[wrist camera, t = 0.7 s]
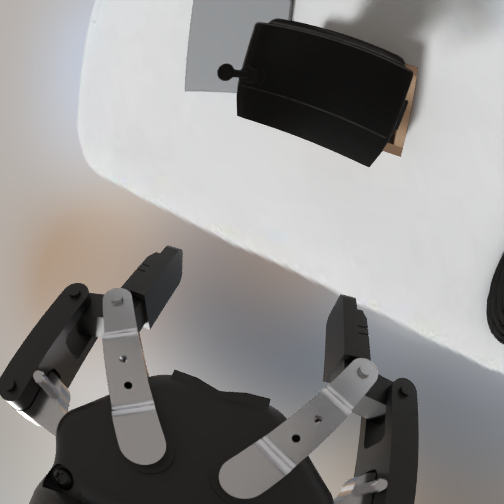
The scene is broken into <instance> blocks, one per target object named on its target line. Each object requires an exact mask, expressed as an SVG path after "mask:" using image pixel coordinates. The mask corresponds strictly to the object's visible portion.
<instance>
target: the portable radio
mask: <svg viewBox="0 0 504 504" xmlns="http://www.w3.org/2000/svg"><path fill="white" fill-rule="evenodd" d="M217 75H218V77H219V79H221V80H222V81H228V80H230V79H232V78H233V77H236V78H239V80H238V87H237V116H239V117H242V118H245V119H248V120H252V121H255V122H258V123H261V124H264V125H267V126H270V127H273V128H276V129H279V130H281V131H284V132H287V133H290V134H292V135H295V136H298V137H300V138H303V139H305V140H308V141H310V142H313V143H315V144H318V145H320V146H323V147H325V148H327V149H330V150H332V151H334V152H337V153H339V154H341V155H343V156H346V157H348V158H350V159H352V160H354V161H356V162H358V163H360V164H363V165H365V166H367V167H370V166H371V164H372V163H373V162H374V161H375V160H376V158H377V157H378V156H379V155H380V153H381V152H382V151H383V149H384V148H385V146H386V145H387V143H388V141H389V140H390V138H391V136H392V133H393V131H394V129H395V130H398V128H399V126H400V123H401V121H402V118H403V115H404V113H405V110H406V108H407V105H408V101H407V100H405V99H406V96H407V93H408V90H409V87H410V84H411V81H412V78H413V71H412V70H410V69H408V68H406V66H405V62H404V60H403V59H402V58H401V57H399V56H398V55H396V54H393V53H391V52H389V51H387V50H384V49H382V48H379V47H377V46H374V45H372V44H369V43H367V42H364V41H361V40H359V39H356V38H353V37H350V36H347V35H344V34H341V33H338V32H334V31H331V30H328V29H324V28H320V27H316V26H313V25H308V24H304V23H300V22H295V21H290V20H285V19H280V18H277V19H273V20H271V21H270V22H269V23H264V22H257V23H256V24H255V26H254V29H253V32H252V36H251V39H250V42H249V45H248V49H247V52H246V56H245V59H244V62H243V66H242V69H241V70H235V69H234V68H233V66H232V65H230V64H228V63H227V64H223V65H221V66H220V67H219V69H218V70H217Z"/></svg>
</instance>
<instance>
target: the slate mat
mask: <svg viewBox="0 0 504 504" xmlns="http://www.w3.org/2000/svg"><path fill="white" fill-rule="evenodd" d="M292 3H293V0H193V7H192V15H191V23H190V32H189V41H188V52H187V63H186V77H185V91H205V92H228V93H237V87H238V80H239V78H236V77H233V78H232V79H230V80H228V81H222V80H221V79H219V77H218V75H217V70H218V69H219V67H220V66H221V65H223V64H227V63H228V64H230V65H232V66H233V68H234V69H235V70H241V69H242V66H243V62H244V59H245V56H246V52H247V49H248V45H249V42H250V39H251V36H252V32H253V29H254V26H255V24H256V23H257V22H264V23H269V22H270V21H271V20H273V19H277V18H280V19H285V20H290V21H291V12H292Z"/></svg>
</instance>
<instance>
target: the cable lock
mask: <svg viewBox="0 0 504 504" xmlns="http://www.w3.org/2000/svg"><path fill="white" fill-rule="evenodd" d="M487 322H488V325H489V328H490V331H491V333H492V334H493V335H494V337H495V338H496V339H497V340H498V341H499V342H500V343H502V344H504V256H503V257H502V259H501V260H500V262H499V264H498V267H497V269H496V271H495V274H494V276H493V279H492V282H491V287H490V292H489V295H488V298H487Z"/></svg>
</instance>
